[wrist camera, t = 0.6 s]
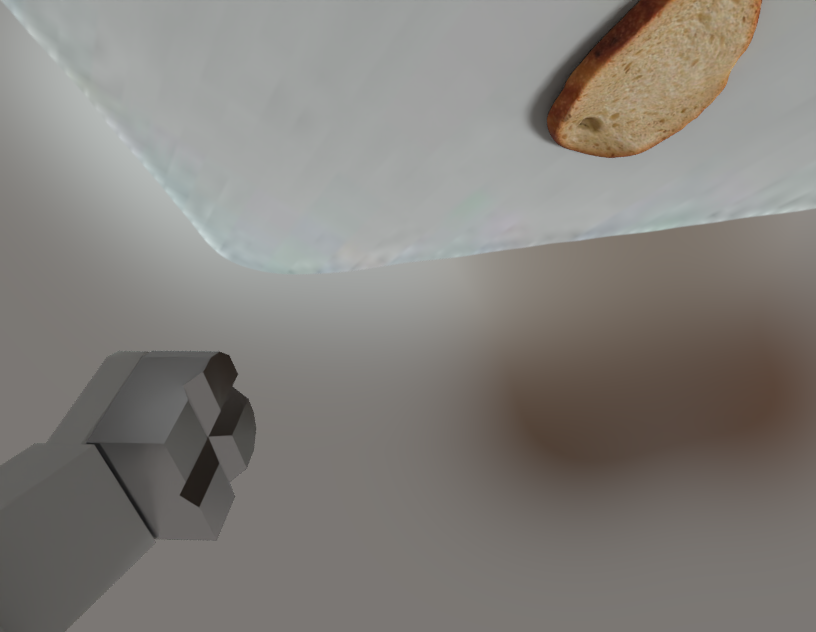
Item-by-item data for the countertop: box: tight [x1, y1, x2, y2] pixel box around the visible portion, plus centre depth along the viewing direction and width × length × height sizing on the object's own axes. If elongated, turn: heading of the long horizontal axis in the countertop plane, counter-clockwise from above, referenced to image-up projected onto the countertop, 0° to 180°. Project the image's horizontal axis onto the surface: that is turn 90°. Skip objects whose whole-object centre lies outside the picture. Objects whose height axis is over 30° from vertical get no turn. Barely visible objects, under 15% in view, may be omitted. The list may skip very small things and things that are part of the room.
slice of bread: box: [547, 0, 762, 158], centre depth 60 cm, size 18×18×4 cm
